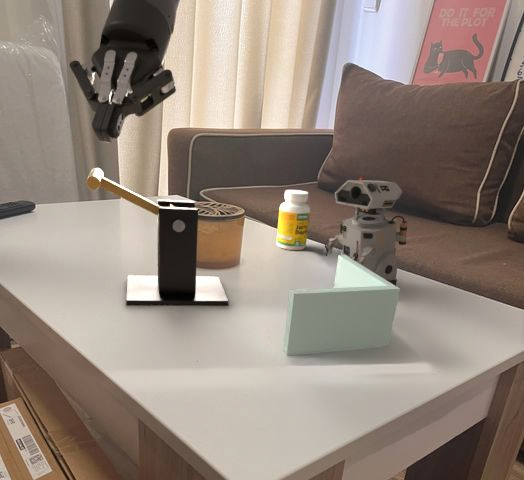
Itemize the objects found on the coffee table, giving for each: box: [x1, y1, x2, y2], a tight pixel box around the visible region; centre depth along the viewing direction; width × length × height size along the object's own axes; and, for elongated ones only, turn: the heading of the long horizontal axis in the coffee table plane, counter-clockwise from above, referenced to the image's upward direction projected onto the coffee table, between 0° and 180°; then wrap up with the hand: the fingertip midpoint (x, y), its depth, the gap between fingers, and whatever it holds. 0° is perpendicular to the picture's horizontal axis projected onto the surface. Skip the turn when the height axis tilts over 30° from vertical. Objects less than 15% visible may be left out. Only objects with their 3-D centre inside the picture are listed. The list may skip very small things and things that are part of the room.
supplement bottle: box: [276, 189, 311, 251], centre depth 92 cm, size 5×5×10 cm
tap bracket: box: [125, 199, 230, 307], centre depth 64 cm, size 12×9×12 cm
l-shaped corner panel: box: [282, 254, 401, 356], centre depth 59 cm, size 12×12×8 cm
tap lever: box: [85, 167, 176, 217], centre depth 60 cm, size 12×6×2 cm, turn 102°
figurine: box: [324, 177, 408, 287], centre depth 75 cm, size 9×12×15 cm
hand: (103, 137), depth 59 cm, fingers closed
